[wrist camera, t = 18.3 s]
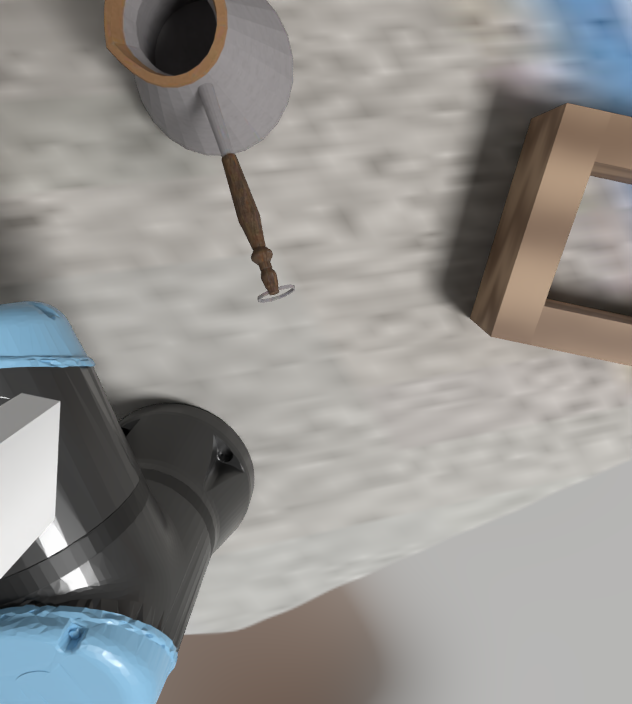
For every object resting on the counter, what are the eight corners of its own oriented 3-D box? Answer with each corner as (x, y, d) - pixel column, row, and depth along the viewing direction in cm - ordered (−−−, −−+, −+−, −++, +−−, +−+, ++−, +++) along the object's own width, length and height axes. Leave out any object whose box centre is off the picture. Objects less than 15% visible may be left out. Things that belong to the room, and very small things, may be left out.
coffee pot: (122, 32, 36) (-19, -81, 22) (261, -38, 35) (206, -209, 20) (237, 293, 42) (184, 339, 27) (362, 244, 40) (375, 267, 26)
